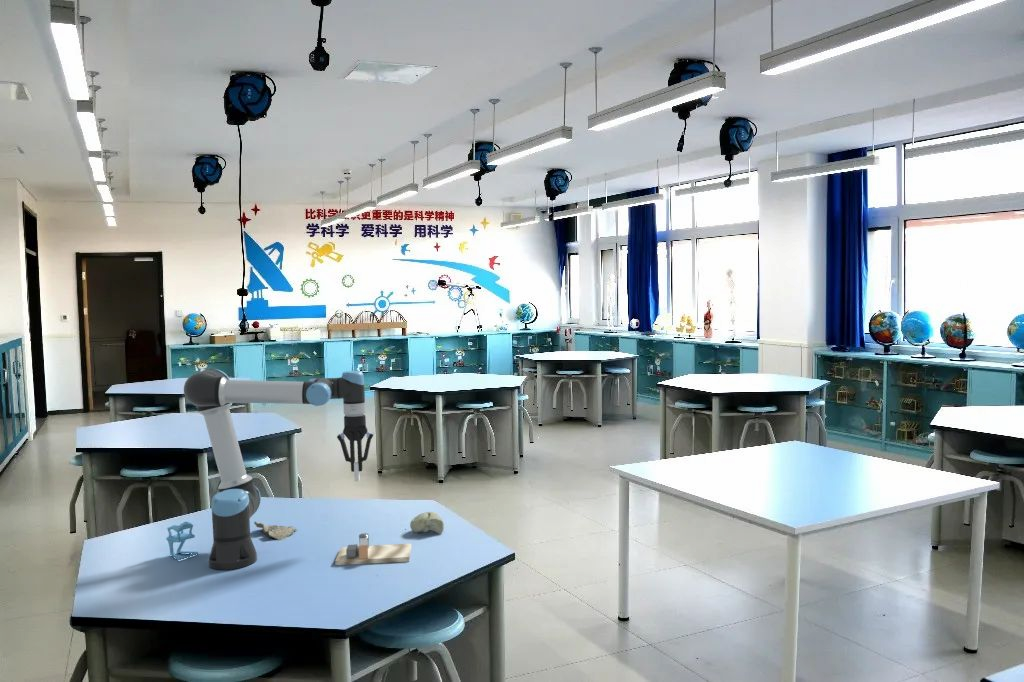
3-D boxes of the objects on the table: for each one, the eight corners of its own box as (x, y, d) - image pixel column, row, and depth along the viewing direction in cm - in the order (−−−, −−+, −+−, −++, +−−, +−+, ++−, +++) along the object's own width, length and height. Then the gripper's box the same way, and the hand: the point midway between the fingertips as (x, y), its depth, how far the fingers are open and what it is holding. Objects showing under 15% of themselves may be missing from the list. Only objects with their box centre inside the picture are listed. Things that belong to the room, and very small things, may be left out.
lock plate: (335, 565, 250) (335, 560, 250) (341, 551, 264) (341, 546, 264) (409, 561, 252) (408, 557, 252) (411, 547, 266) (411, 543, 266)
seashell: (407, 516, 279) (414, 505, 288) (407, 536, 280) (414, 525, 290) (442, 520, 277) (448, 509, 287) (441, 540, 279) (447, 528, 288)
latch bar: (359, 546, 264) (359, 533, 264) (369, 545, 265) (368, 533, 264) (358, 559, 251) (358, 546, 251) (368, 558, 251) (368, 545, 251)
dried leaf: (293, 540, 279) (292, 527, 279) (247, 543, 277) (247, 530, 277) (300, 526, 297) (300, 513, 296) (258, 529, 295) (257, 516, 294)
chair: (183, 551, 269) (181, 517, 268) (199, 554, 265) (197, 520, 264) (163, 558, 262) (162, 523, 262) (179, 561, 258) (177, 526, 257)
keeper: (346, 558, 252) (346, 549, 252) (348, 553, 257) (348, 544, 257) (355, 558, 252) (355, 549, 252) (357, 553, 257) (357, 544, 257)
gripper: (334, 417, 267) (337, 483, 268) (372, 415, 268) (374, 482, 269) (337, 413, 274) (340, 478, 276) (374, 412, 275) (376, 477, 277)
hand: (357, 480), depth 272 cm, fingers closed
